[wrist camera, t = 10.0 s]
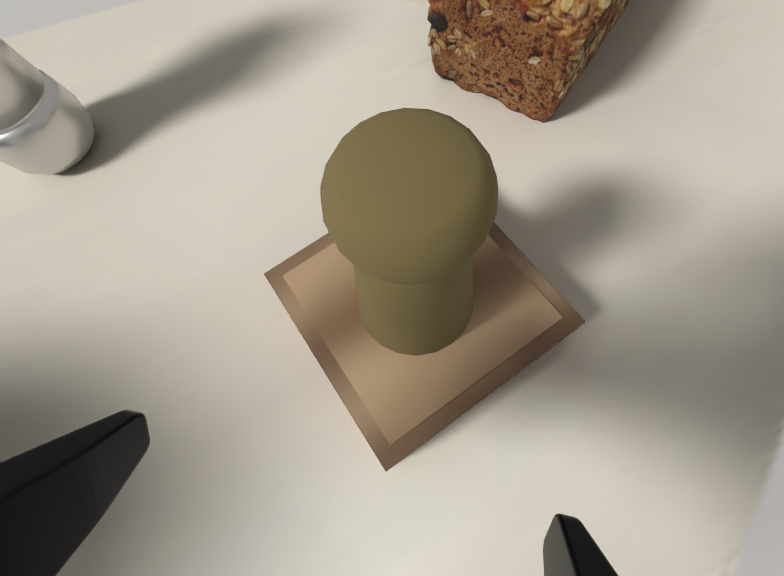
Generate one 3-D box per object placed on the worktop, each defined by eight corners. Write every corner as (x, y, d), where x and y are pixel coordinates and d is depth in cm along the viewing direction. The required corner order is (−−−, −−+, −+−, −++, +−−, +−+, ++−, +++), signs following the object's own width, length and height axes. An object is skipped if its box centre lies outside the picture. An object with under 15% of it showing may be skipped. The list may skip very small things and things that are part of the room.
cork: (447, 230, 22) (469, 46, 11) (493, 331, 20) (570, 218, 9) (343, 266, 21) (269, 111, 11) (377, 373, 19) (325, 302, 9)
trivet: (565, 335, 22) (586, 321, 19) (391, 466, 21) (385, 471, 18) (437, 191, 26) (439, 161, 23) (282, 292, 25) (262, 272, 22)
